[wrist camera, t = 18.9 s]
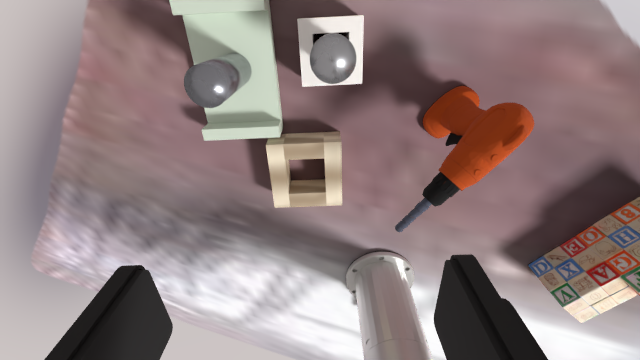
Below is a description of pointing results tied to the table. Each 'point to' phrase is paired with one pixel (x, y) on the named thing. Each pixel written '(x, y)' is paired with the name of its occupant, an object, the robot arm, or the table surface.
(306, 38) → the housing
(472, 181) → the toy drill
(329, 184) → the socket
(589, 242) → the stack of blocks
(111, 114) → the table surface
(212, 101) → the grey round peg
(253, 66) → the tray
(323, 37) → the grey ball-topped peg
